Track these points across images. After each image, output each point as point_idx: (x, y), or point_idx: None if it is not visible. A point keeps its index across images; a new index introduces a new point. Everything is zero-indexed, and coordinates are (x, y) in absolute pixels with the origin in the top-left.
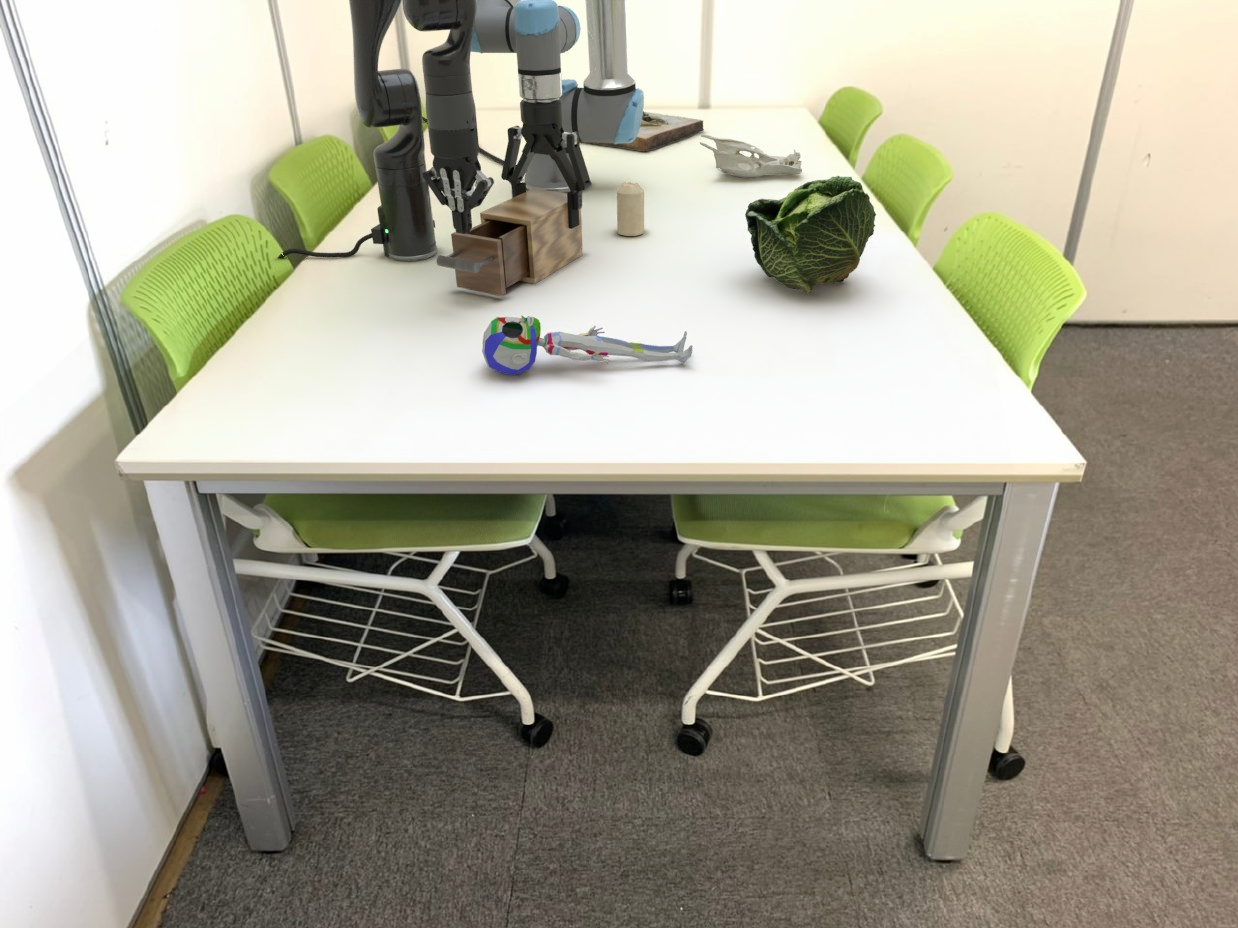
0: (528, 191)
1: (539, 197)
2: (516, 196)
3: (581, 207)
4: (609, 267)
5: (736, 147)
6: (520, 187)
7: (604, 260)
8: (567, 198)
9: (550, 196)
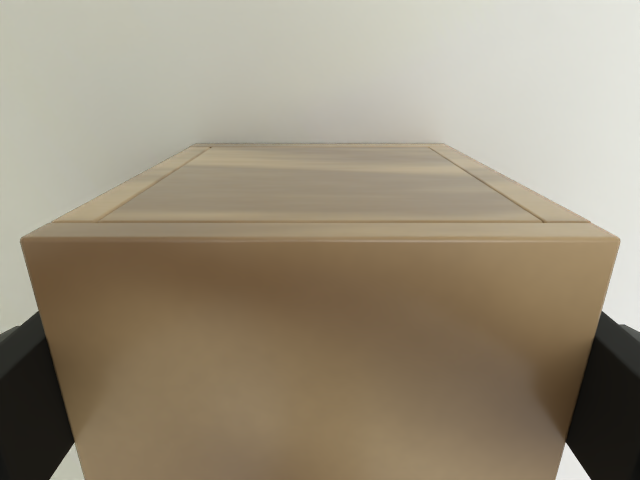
0: (61, 332)
1: (277, 432)
2: (89, 475)
3: (633, 334)
4: (607, 224)
5: None
6: (28, 463)
7: (562, 160)
8: (588, 472)
9: (348, 375)
